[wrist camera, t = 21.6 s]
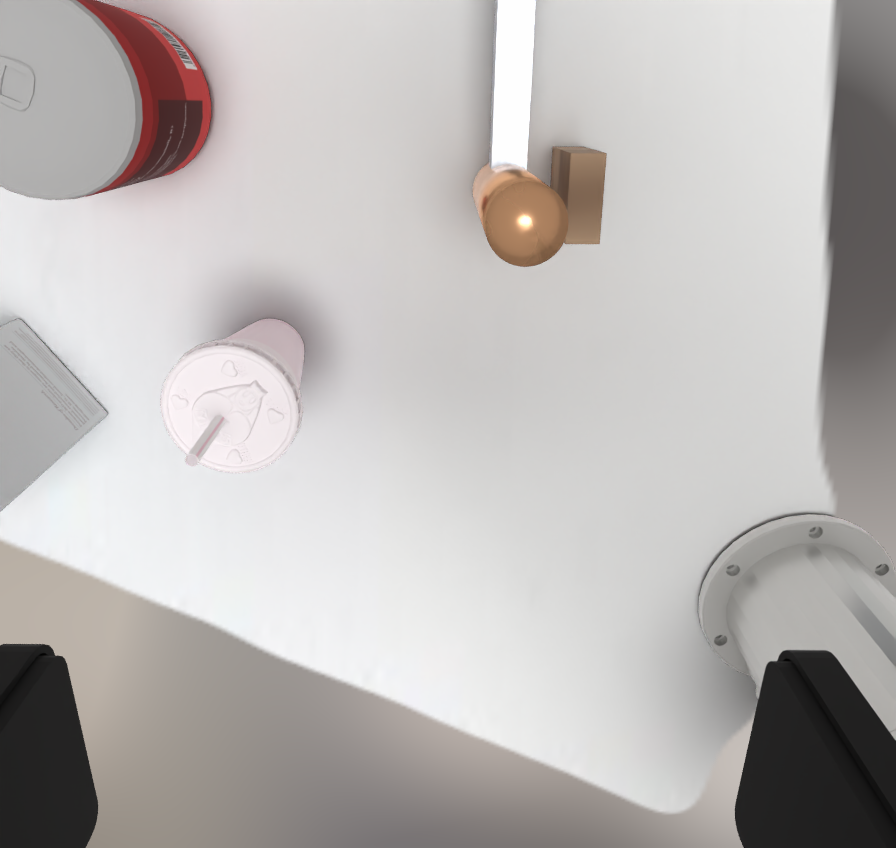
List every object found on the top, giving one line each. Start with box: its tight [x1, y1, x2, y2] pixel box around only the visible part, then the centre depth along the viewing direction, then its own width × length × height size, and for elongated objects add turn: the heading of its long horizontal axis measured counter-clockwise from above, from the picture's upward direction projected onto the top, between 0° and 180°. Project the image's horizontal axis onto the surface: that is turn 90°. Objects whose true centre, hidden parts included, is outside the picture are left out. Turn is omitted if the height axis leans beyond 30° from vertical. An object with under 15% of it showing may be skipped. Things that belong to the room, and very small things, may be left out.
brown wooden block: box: [551, 147, 607, 244], centre depth 37 cm, size 4×2×6 cm, turn 0°
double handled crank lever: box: [473, 0, 569, 267], centre depth 30 cm, size 17×3×13 cm, turn 179°
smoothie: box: [160, 319, 305, 473], centre depth 37 cm, size 6×6×14 cm
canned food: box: [0, 0, 211, 200], centre depth 33 cm, size 8×8×11 cm
